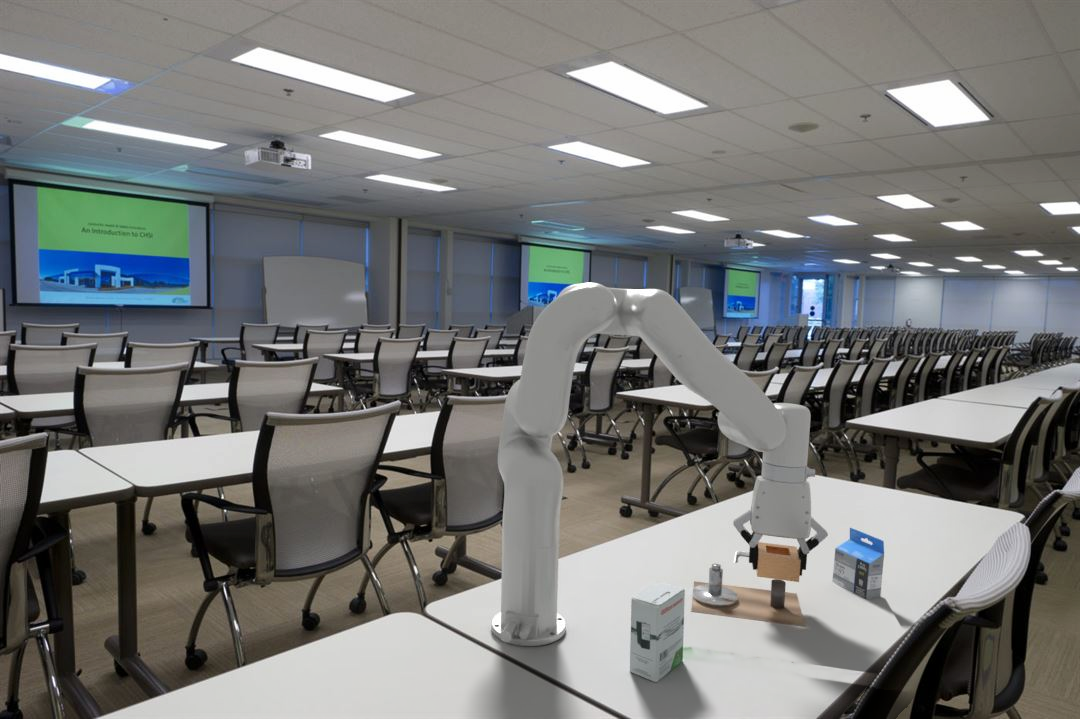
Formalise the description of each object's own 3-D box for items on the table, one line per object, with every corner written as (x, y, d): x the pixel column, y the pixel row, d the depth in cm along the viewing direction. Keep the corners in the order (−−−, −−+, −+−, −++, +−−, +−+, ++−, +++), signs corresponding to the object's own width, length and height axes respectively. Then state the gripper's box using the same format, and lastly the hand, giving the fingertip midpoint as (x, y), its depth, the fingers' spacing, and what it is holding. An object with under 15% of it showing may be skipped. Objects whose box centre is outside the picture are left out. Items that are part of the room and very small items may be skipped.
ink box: (656, 650, 113) (659, 579, 112) (684, 661, 110) (687, 587, 109) (627, 672, 106) (630, 596, 105) (655, 684, 103) (658, 605, 102)
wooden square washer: (798, 582, 122) (800, 559, 122) (757, 576, 124) (758, 554, 124) (794, 567, 129) (796, 546, 129) (755, 562, 131) (756, 541, 131)
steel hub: (737, 610, 125) (739, 575, 125) (691, 604, 127) (693, 570, 127) (736, 592, 133) (738, 560, 132) (693, 587, 135) (694, 555, 134)
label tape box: (830, 588, 140) (834, 528, 139) (846, 586, 141) (850, 526, 140) (865, 607, 131) (869, 543, 130) (882, 604, 133) (886, 541, 132)
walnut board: (804, 634, 120) (806, 600, 119) (690, 619, 124) (692, 586, 124) (796, 601, 133) (797, 570, 133) (693, 588, 138) (695, 558, 137)
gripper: (832, 473, 127) (824, 569, 128) (732, 463, 131) (726, 556, 132) (839, 483, 119) (831, 584, 121) (733, 472, 124) (726, 570, 125)
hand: (776, 569), depth 127 cm, fingers closed on wooden square washer, 7 cm apart
